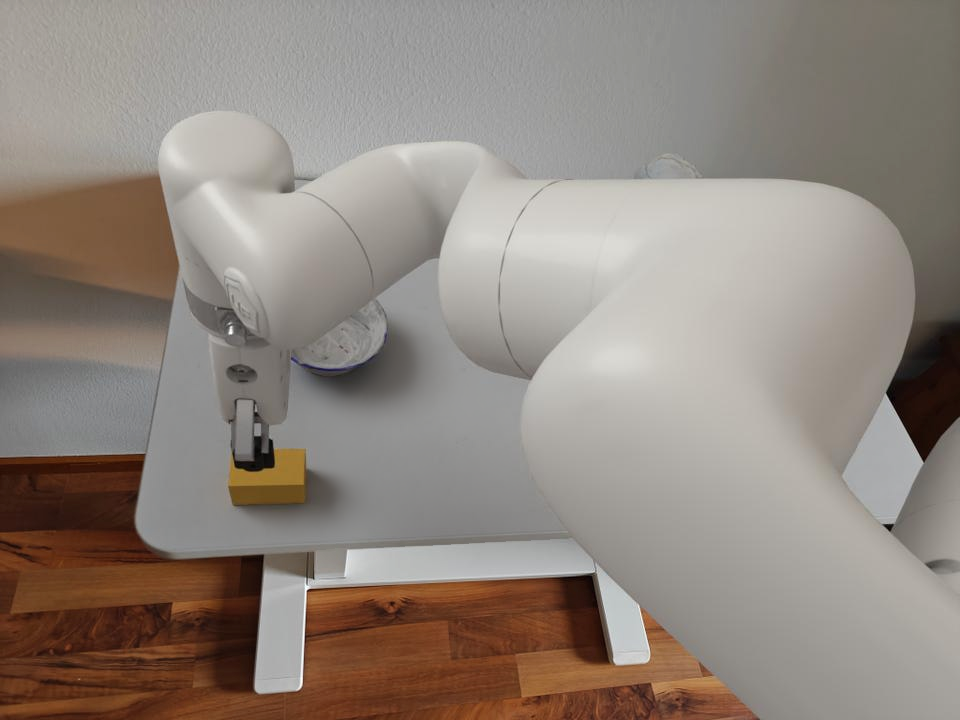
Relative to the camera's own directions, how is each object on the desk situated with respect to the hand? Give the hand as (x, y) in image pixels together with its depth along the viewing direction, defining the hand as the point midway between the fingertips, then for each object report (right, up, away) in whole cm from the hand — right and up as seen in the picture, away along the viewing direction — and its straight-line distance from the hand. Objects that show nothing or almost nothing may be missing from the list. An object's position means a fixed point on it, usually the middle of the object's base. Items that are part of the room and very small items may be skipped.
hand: (259, 416), depth 64 cm
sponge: (-2, -8, +10) cm, 13 cm away
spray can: (+39, +15, +36) cm, 55 cm away
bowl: (+2, +6, +22) cm, 22 cm away
